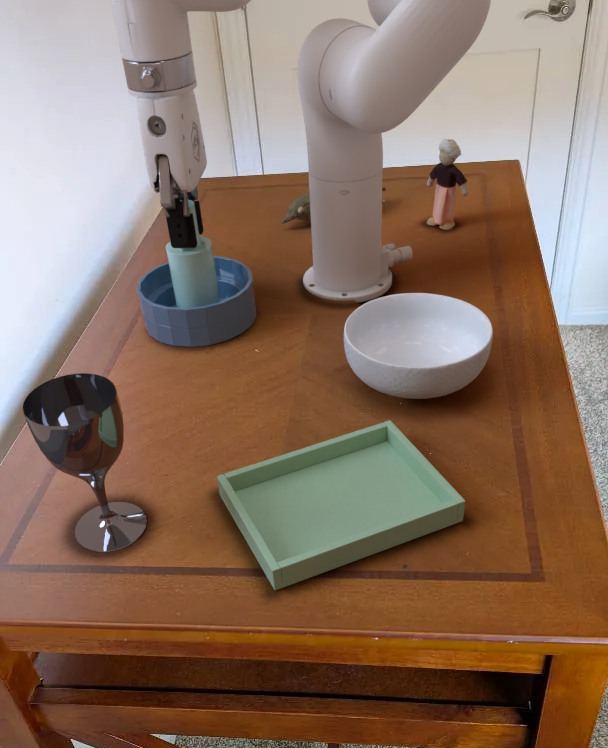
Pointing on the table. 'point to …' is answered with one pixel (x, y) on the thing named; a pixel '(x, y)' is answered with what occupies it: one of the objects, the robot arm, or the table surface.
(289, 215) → the decorative bird model
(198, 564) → the table surface
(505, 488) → the table surface
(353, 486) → the tray
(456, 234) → the table surface
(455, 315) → the cereal bowl
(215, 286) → the bottle
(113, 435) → the wine glass
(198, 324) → the bowl
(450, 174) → the grandmother figurine
